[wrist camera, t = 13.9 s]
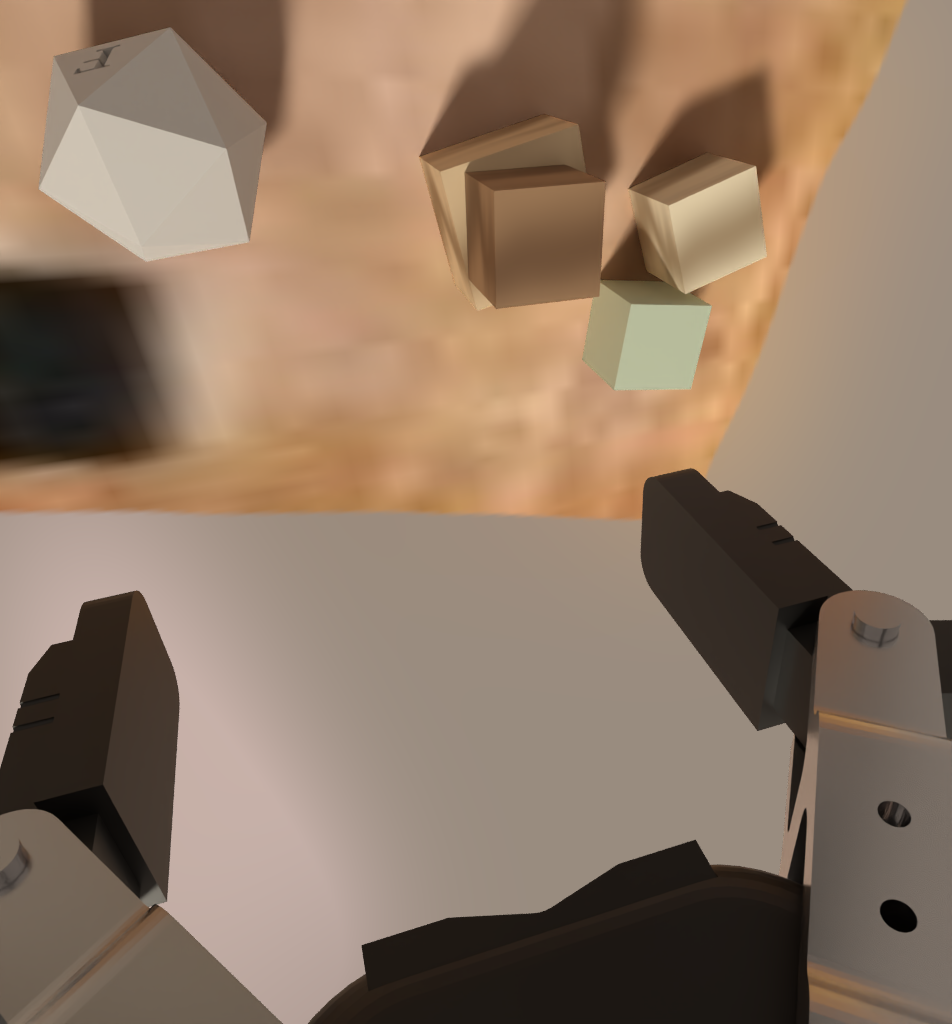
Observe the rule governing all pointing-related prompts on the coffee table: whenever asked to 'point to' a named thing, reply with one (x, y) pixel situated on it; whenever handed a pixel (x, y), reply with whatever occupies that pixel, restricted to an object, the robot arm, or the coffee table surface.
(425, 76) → the coffee table surface
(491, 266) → the walnut block
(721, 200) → the beech block
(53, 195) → the die
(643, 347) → the sage block
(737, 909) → the robot arm
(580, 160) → the oak base
